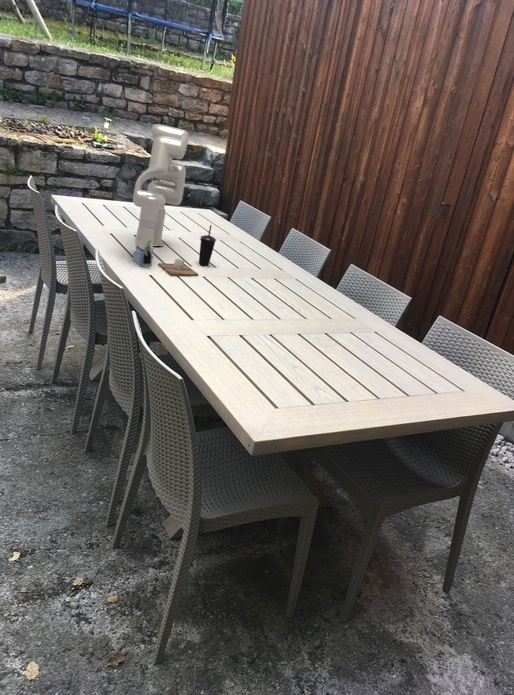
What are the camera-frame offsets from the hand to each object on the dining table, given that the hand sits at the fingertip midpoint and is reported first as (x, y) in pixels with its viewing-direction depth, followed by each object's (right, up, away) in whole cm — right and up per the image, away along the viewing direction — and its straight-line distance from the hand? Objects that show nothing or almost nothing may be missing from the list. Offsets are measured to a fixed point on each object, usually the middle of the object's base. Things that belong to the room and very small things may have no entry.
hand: (142, 260), depth 267 cm
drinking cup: (+26, 0, +20) cm, 33 cm away
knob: (0, -2, +1) cm, 2 cm away
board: (+16, -5, +2) cm, 17 cm away
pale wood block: (+16, -4, +2) cm, 17 cm away
